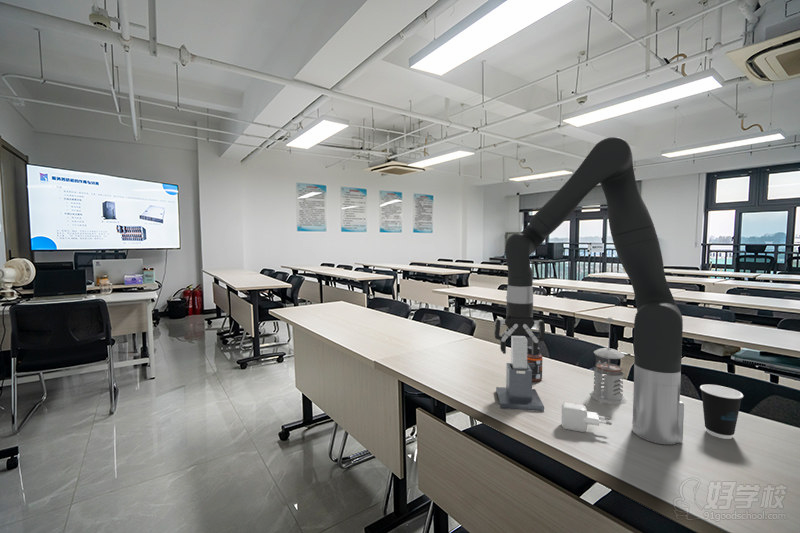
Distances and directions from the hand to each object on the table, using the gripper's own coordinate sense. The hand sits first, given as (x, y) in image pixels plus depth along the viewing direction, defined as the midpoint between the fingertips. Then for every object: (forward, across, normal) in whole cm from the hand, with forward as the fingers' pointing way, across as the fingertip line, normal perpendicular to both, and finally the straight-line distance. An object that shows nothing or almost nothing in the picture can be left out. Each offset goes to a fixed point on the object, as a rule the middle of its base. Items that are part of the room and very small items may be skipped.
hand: (518, 353), depth 106 cm
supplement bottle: (+15, +8, +19) cm, 25 cm away
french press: (+15, +27, +6) cm, 31 cm away
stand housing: (+14, 0, 0) cm, 15 cm away
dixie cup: (+14, +46, -12) cm, 50 cm away
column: (+13, 0, 0) cm, 13 cm away
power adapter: (+15, +14, -15) cm, 25 cm away
